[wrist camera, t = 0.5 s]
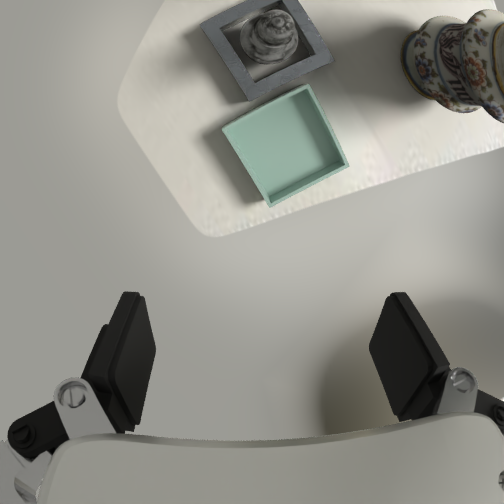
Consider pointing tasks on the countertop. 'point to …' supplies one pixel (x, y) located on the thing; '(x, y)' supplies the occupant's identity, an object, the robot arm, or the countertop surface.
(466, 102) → the apothecary jar
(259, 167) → the tray
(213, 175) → the countertop surface
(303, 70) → the grey square frame
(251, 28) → the salt shaker
